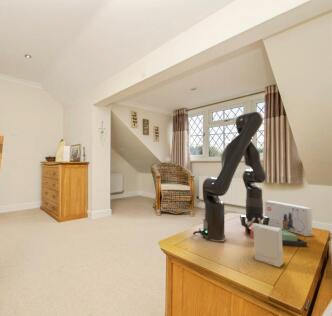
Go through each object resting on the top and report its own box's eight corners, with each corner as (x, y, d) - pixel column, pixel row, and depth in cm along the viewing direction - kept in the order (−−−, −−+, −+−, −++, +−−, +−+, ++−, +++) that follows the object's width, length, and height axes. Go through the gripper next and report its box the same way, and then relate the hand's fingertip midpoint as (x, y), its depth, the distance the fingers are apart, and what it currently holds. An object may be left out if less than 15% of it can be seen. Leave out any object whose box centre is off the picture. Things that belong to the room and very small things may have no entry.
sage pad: (285, 242, 99) (285, 235, 99) (274, 236, 106) (274, 229, 106) (297, 243, 98) (297, 235, 98) (285, 237, 105) (285, 230, 105)
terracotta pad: (253, 238, 106) (253, 230, 106) (245, 233, 114) (245, 226, 114) (264, 238, 106) (264, 231, 106) (255, 233, 113) (255, 226, 113)
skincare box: (264, 224, 128) (264, 200, 128) (269, 223, 130) (269, 200, 130) (307, 236, 108) (307, 208, 108) (313, 235, 110) (312, 207, 110)
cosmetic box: (283, 263, 80) (283, 228, 80) (279, 268, 77) (279, 231, 77) (258, 255, 87) (258, 222, 87) (253, 259, 84) (253, 225, 84)
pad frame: (280, 245, 98) (280, 240, 98) (255, 231, 116) (255, 227, 116) (306, 246, 96) (306, 242, 96) (278, 232, 114) (278, 228, 114)
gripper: (263, 203, 112) (264, 232, 112) (236, 203, 115) (236, 231, 115) (273, 207, 105) (273, 238, 105) (244, 206, 107) (244, 236, 107)
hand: (254, 234), depth 110 cm, fingers closed on terracotta pad, 5 cm apart
